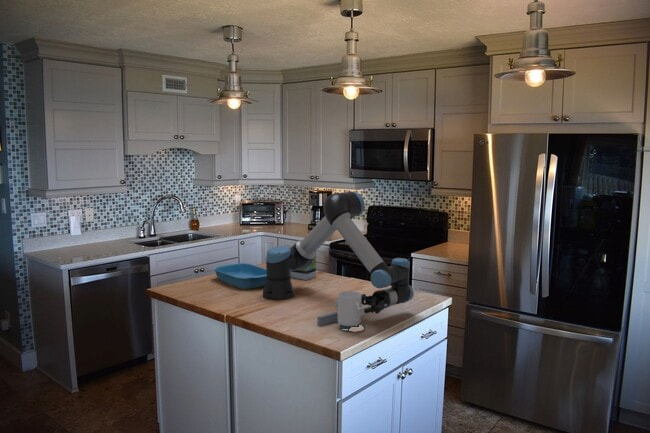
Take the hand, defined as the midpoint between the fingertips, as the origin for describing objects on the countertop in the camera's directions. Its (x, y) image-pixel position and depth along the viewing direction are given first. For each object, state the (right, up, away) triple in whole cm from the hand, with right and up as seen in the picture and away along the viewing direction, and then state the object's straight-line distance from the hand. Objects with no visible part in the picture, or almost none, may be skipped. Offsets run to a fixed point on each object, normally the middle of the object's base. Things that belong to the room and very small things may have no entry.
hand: (346, 308), depth 204 cm
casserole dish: (-52, +1, +71) cm, 88 cm away
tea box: (-22, +2, +84) cm, 87 cm away
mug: (+2, -7, +3) cm, 8 cm away
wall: (-4, -7, +12) cm, 14 cm away
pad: (+3, -9, +4) cm, 10 cm away
